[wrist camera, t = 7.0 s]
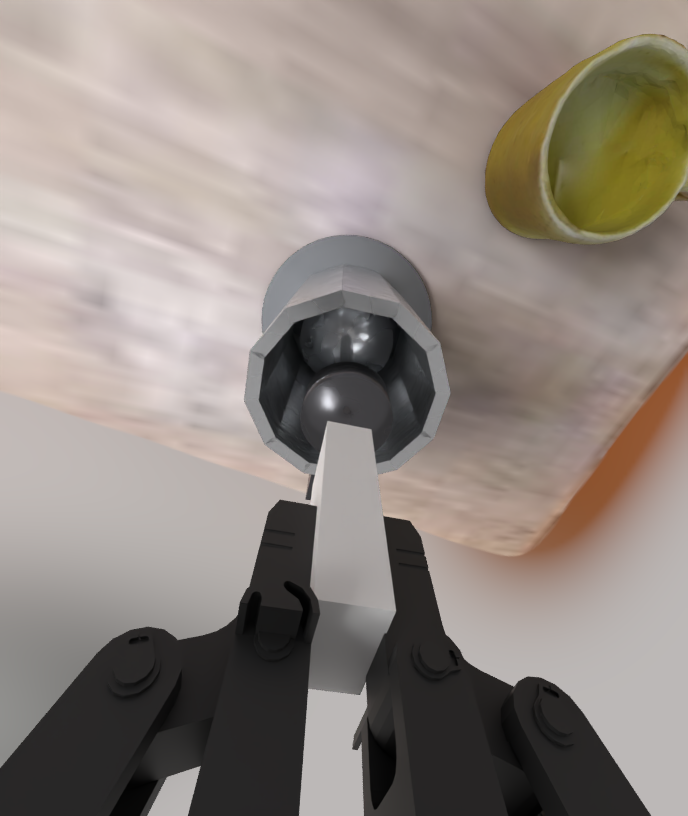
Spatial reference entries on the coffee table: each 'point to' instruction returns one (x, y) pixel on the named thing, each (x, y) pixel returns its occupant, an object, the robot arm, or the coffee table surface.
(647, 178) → the mug
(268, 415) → the grey french press
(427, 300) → the coaster
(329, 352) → the plunger
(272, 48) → the coffee table surface
